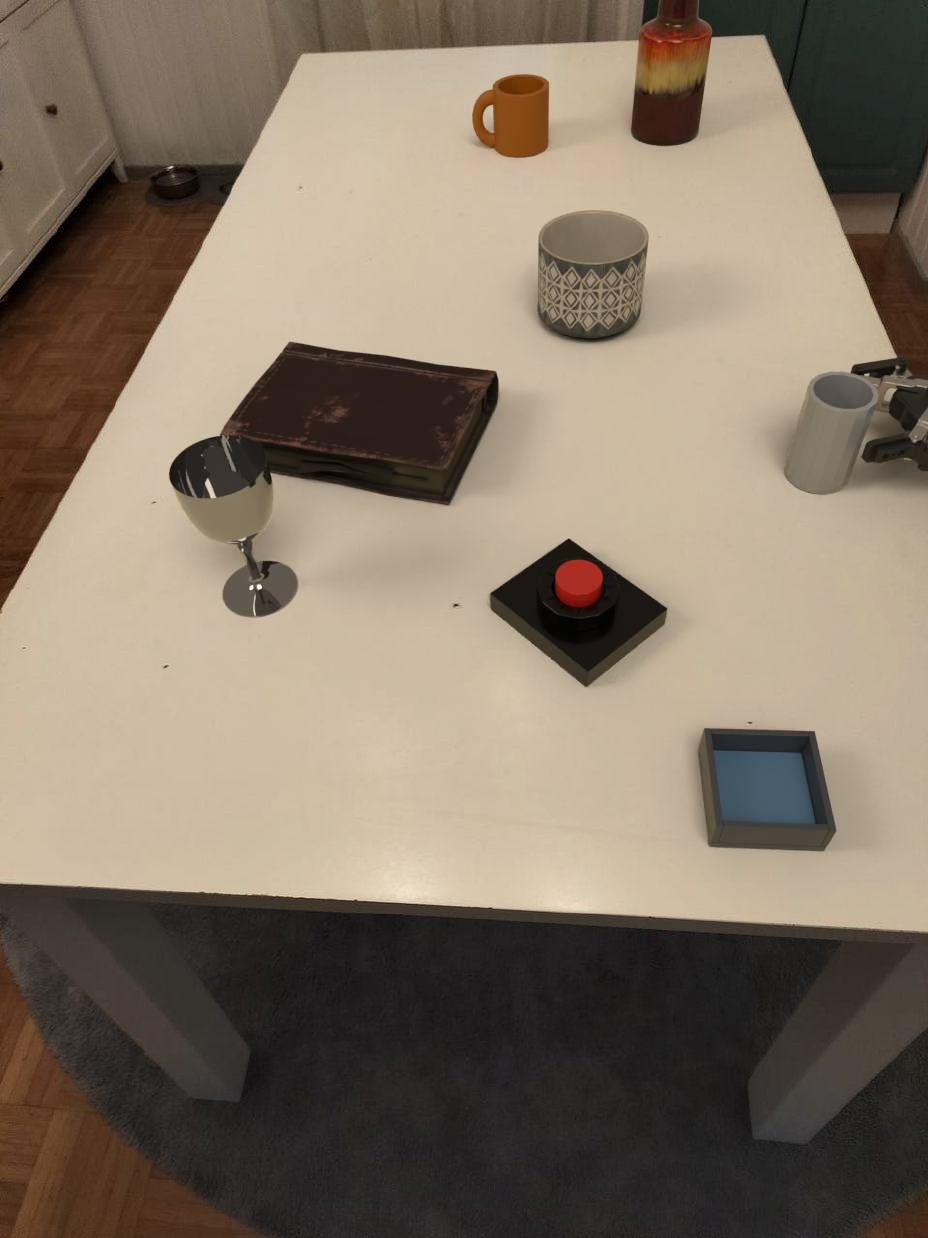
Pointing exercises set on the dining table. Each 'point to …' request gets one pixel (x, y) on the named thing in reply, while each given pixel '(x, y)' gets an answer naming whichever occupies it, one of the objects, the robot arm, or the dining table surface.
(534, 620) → the control block
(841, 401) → the tumbler
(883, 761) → the dining table surface
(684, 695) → the dining table surface
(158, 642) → the dining table surface
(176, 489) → the wine glass
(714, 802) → the tray
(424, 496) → the diary
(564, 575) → the button
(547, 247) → the planter
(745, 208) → the dining table surface
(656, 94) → the vase
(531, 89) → the mug
